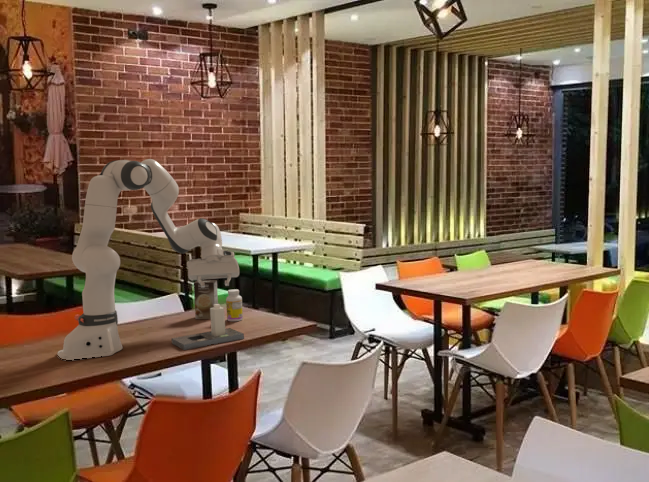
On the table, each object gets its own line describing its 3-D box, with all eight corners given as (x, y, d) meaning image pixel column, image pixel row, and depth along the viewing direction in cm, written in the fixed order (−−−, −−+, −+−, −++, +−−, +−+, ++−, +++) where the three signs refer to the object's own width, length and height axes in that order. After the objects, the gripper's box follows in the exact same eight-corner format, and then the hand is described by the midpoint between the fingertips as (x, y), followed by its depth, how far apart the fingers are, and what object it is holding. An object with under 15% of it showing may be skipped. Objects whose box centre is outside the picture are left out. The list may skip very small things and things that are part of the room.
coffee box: (194, 319, 303) (192, 282, 302) (198, 316, 310) (196, 280, 308) (215, 319, 303) (213, 282, 301) (219, 315, 309) (217, 279, 307)
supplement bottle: (225, 319, 301) (224, 289, 300) (241, 317, 303) (239, 288, 302) (228, 322, 295) (226, 292, 294) (244, 320, 297) (242, 290, 295)
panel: (184, 350, 254) (183, 343, 254) (171, 343, 264) (171, 337, 264) (243, 338, 267) (243, 332, 267) (230, 332, 277) (229, 327, 277)
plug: (216, 341, 265) (214, 306, 264) (211, 339, 269) (209, 304, 267) (225, 339, 267) (223, 304, 266) (221, 337, 271) (219, 302, 269)
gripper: (186, 254, 282) (187, 283, 273) (237, 251, 286) (240, 279, 277) (186, 264, 287) (188, 292, 278) (237, 261, 291) (240, 288, 282)
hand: (215, 286), depth 278 cm, fingers open, 8 cm apart
